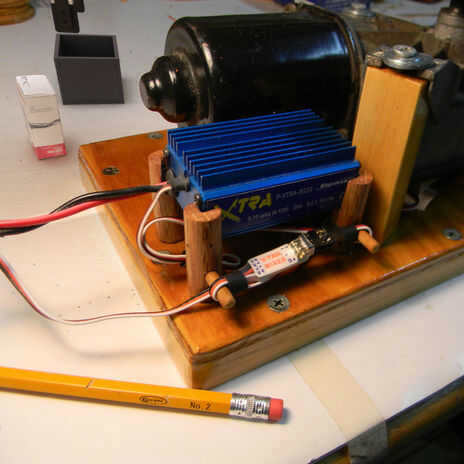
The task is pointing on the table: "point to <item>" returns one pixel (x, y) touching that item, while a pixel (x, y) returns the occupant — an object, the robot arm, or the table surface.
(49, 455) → the table surface
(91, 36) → the dark grey open bin
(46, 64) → the table surface
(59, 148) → the ink box
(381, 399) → the table surface
